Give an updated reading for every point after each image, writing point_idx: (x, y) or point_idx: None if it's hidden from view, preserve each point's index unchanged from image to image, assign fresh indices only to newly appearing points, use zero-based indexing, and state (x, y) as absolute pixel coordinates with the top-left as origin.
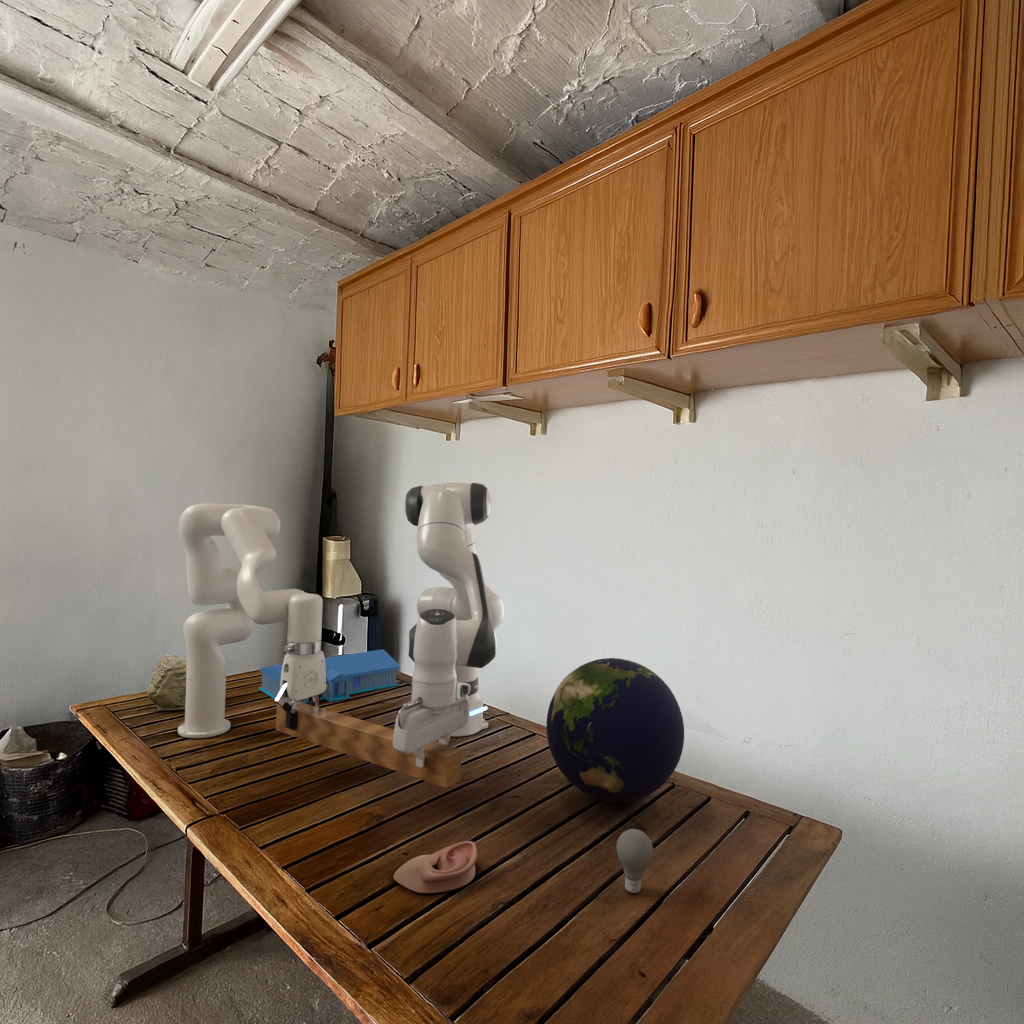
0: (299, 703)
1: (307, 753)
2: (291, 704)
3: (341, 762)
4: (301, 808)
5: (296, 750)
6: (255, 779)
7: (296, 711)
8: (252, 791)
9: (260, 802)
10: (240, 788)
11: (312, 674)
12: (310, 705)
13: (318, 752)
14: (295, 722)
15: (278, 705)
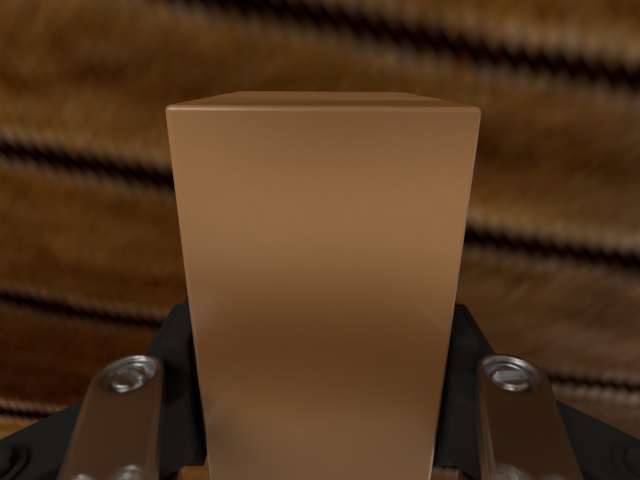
0: (400, 313)
1: (464, 103)
2: (305, 273)
3: (462, 298)
4: None
5: (465, 18)
6: (122, 150)
7: (208, 451)
8: (60, 233)
9: (45, 321)
10: (33, 173)
11: None
12: (418, 446)
13: (501, 138)
14: None
15: (171, 151)
